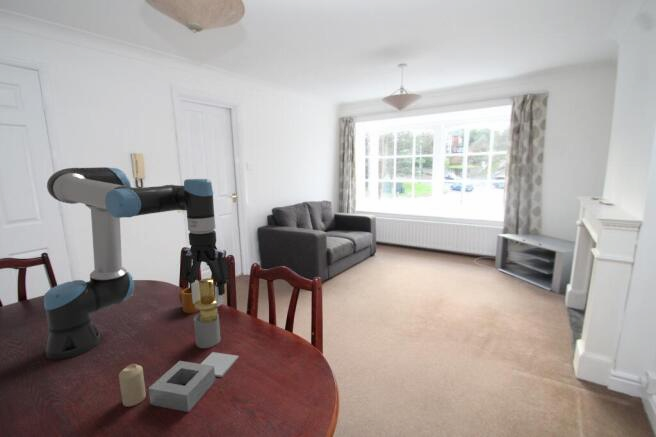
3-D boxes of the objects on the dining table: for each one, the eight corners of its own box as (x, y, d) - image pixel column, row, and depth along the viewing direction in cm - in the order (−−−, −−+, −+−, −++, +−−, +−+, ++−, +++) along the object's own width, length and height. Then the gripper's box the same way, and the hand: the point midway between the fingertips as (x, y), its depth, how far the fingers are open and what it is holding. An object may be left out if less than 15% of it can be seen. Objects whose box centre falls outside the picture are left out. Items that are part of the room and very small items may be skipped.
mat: (193, 372, 95) (193, 370, 95) (212, 353, 104) (212, 352, 104) (222, 377, 93) (221, 375, 92) (238, 357, 102) (238, 355, 102)
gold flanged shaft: (190, 323, 91) (187, 284, 89) (206, 312, 99) (203, 275, 97) (212, 326, 90) (209, 286, 88) (227, 314, 97) (224, 277, 95)
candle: (129, 392, 87) (125, 361, 85) (149, 391, 87) (145, 360, 85) (118, 407, 81) (113, 374, 80) (139, 406, 82) (135, 372, 80)
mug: (191, 301, 146) (190, 283, 145) (207, 307, 140) (206, 288, 139) (174, 308, 139) (172, 289, 137) (190, 314, 133) (189, 295, 131)
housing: (150, 404, 82) (148, 388, 81) (181, 375, 94) (179, 360, 93) (188, 412, 79) (186, 395, 79) (215, 381, 91) (214, 366, 90)
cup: (211, 349, 107) (209, 323, 105) (191, 346, 109) (188, 321, 107) (224, 336, 115) (222, 312, 114) (205, 334, 117) (203, 310, 115)
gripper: (163, 232, 89) (171, 305, 92) (225, 235, 83) (230, 312, 87) (182, 227, 96) (188, 295, 99) (239, 229, 91) (244, 301, 94)
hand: (208, 303), depth 93 cm, fingers closed on gold flanged shaft, 8 cm apart
